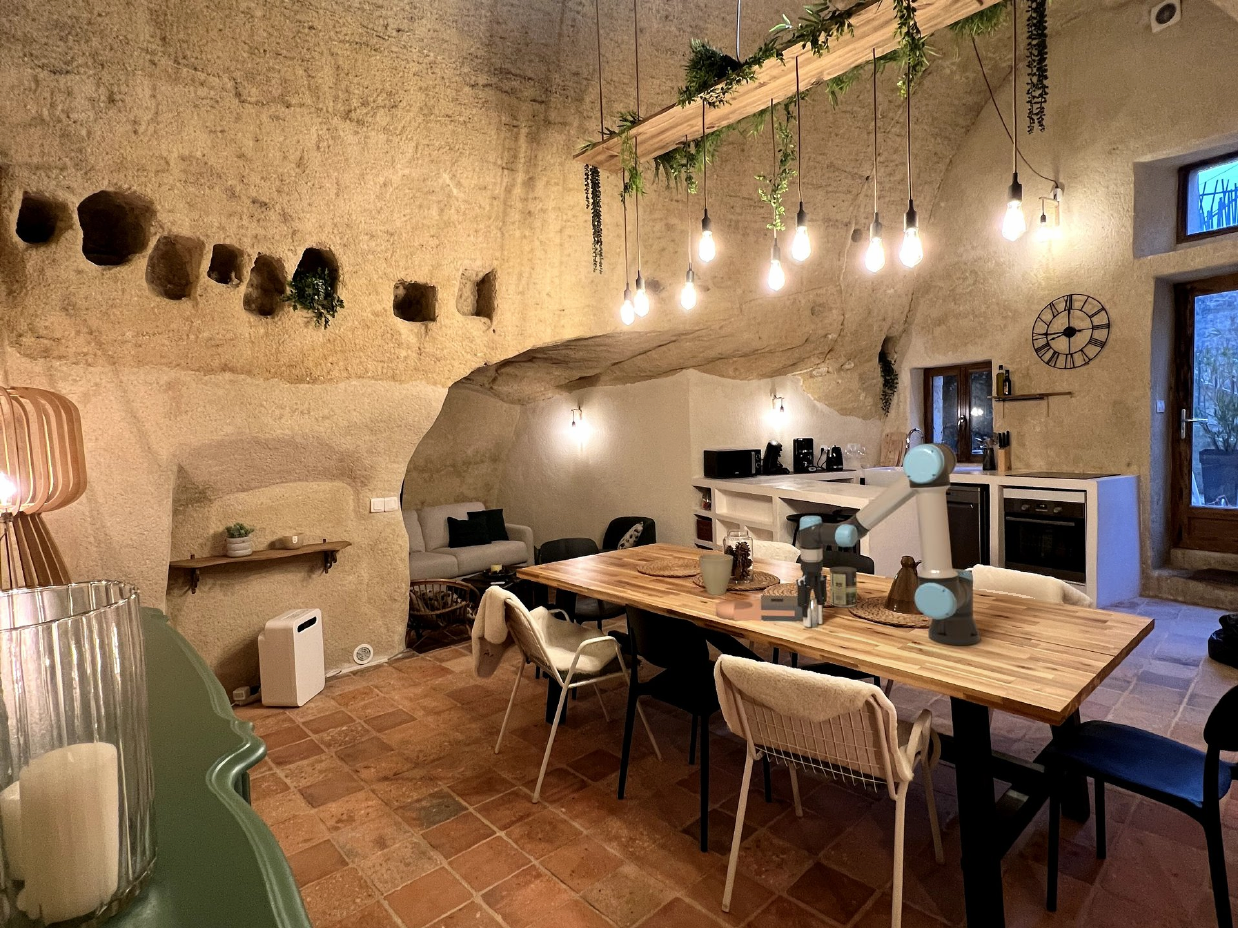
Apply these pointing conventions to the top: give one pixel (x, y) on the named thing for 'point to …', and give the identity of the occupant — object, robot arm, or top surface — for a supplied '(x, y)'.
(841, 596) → the coffee can
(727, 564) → the plant pot
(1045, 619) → the top surface
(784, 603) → the clevis fork
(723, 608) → the knuckle link
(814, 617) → the steel pin
